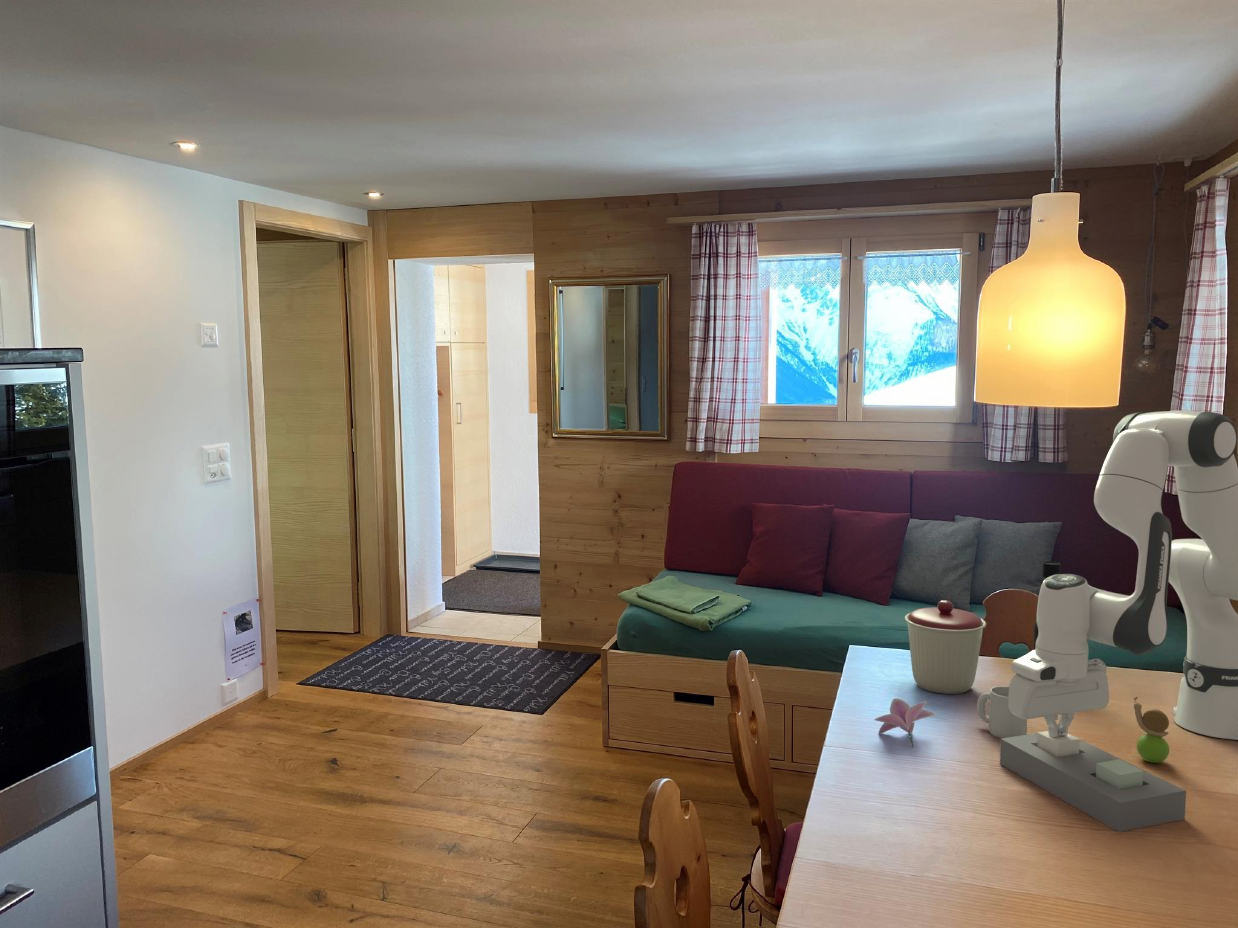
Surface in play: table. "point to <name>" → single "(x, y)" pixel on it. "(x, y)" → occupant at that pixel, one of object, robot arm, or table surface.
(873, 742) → the table surface
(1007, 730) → the cup
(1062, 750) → the white key
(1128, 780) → the pale green cube
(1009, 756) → the key console
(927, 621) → the canister
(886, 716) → the lily
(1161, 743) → the snail figurine
